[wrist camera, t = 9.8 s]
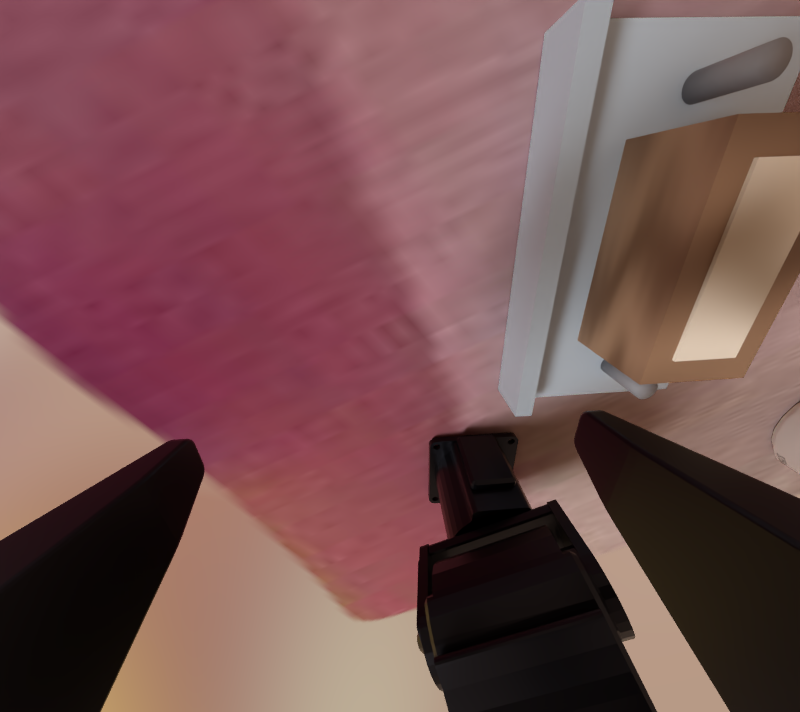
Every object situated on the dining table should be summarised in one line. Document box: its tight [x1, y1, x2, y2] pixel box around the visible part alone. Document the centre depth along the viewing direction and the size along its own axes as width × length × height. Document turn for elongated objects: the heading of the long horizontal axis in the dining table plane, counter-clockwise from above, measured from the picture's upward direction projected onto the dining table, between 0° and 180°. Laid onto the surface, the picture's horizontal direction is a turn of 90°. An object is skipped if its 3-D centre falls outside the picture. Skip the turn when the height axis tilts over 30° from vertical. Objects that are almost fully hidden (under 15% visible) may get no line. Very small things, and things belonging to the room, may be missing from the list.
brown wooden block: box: [577, 112, 800, 385], centre depth 14 cm, size 10×5×5 cm, turn 2°
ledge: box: [498, 0, 800, 417], centre depth 16 cm, size 18×11×4 cm, turn 2°
